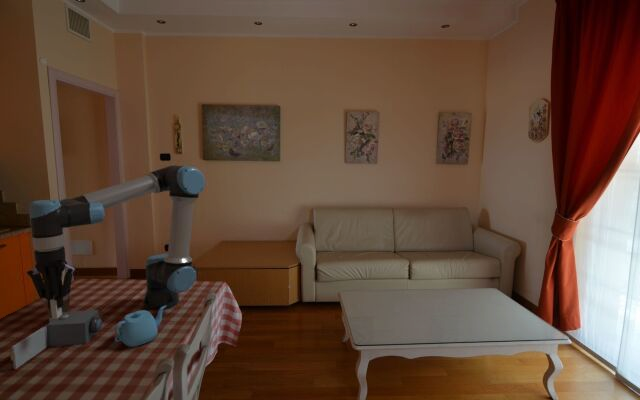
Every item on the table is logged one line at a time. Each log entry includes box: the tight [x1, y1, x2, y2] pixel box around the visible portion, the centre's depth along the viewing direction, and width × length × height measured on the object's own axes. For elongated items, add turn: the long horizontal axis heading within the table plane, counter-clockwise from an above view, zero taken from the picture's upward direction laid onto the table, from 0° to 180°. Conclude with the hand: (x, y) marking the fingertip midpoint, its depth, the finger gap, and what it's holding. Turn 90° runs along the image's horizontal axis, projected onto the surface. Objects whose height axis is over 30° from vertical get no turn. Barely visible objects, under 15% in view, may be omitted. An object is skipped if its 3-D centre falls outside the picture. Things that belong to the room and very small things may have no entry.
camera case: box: [46, 309, 103, 347], centre depth 120 cm, size 14×10×9 cm
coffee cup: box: [44, 290, 72, 323], centre depth 129 cm, size 8×8×15 cm
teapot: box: [114, 305, 167, 348], centre depth 121 cm, size 13×11×18 cm
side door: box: [10, 325, 49, 370], centre depth 107 cm, size 12×2×8 cm, turn 2°
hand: (57, 316), depth 107 cm, fingers closed
